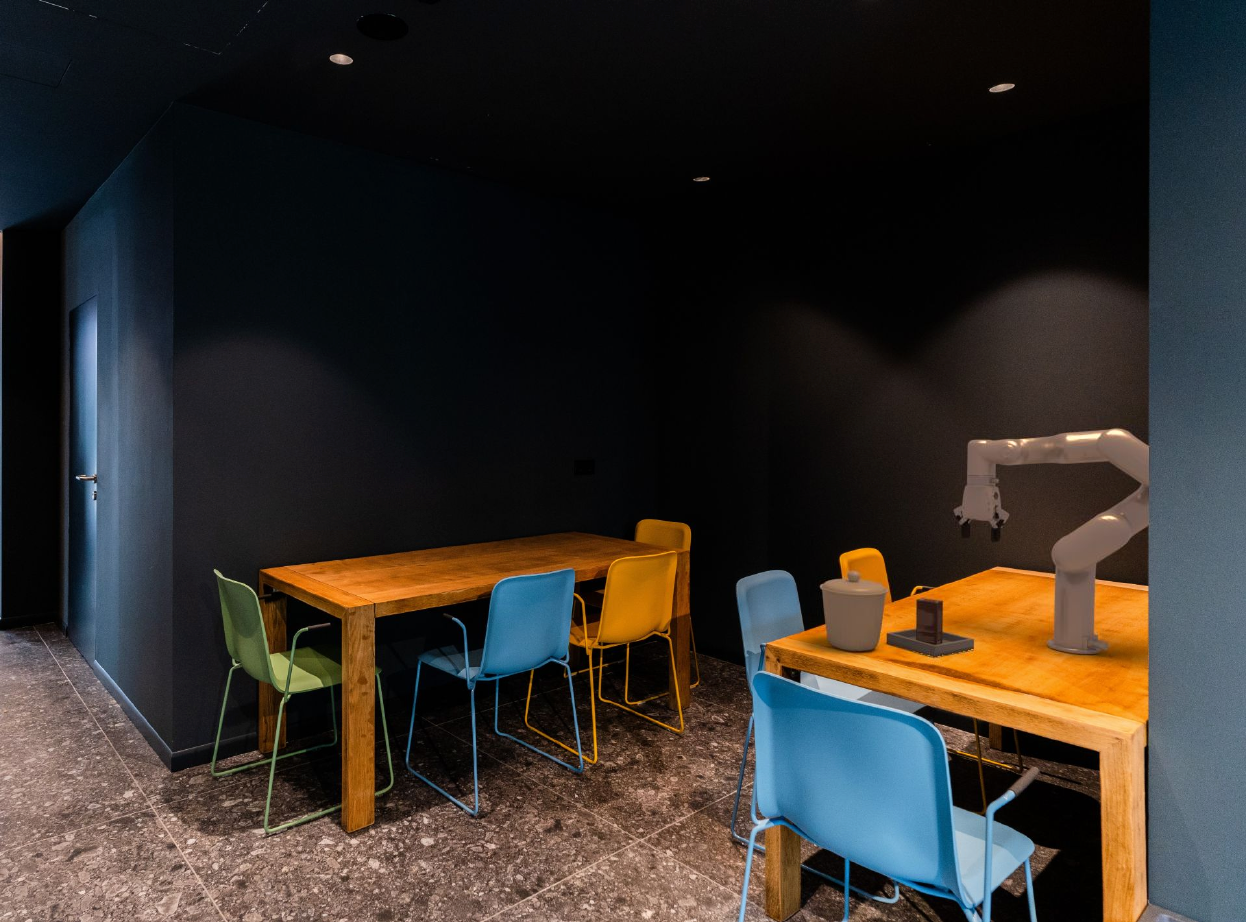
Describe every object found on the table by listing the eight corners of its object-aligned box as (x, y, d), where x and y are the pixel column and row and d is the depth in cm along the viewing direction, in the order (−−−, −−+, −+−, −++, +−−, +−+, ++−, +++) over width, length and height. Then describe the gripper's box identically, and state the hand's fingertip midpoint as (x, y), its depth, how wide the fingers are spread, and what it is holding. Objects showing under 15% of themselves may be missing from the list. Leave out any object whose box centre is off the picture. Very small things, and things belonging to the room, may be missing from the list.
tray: (973, 650, 206) (974, 639, 206) (934, 657, 198) (934, 646, 198) (924, 636, 220) (925, 626, 220) (886, 643, 212) (886, 633, 212)
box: (943, 643, 209) (943, 600, 209) (936, 646, 206) (937, 602, 206) (921, 639, 213) (922, 597, 213) (914, 642, 210) (915, 599, 210)
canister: (858, 636, 220) (859, 564, 220) (902, 652, 204) (903, 574, 203) (806, 641, 214) (807, 567, 213) (846, 658, 197) (847, 578, 197)
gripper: (1016, 482, 216) (1015, 542, 216) (963, 480, 231) (962, 535, 232) (1000, 483, 212) (999, 543, 213) (947, 480, 228) (946, 537, 228)
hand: (980, 539), depth 222 cm, fingers open, 9 cm apart
